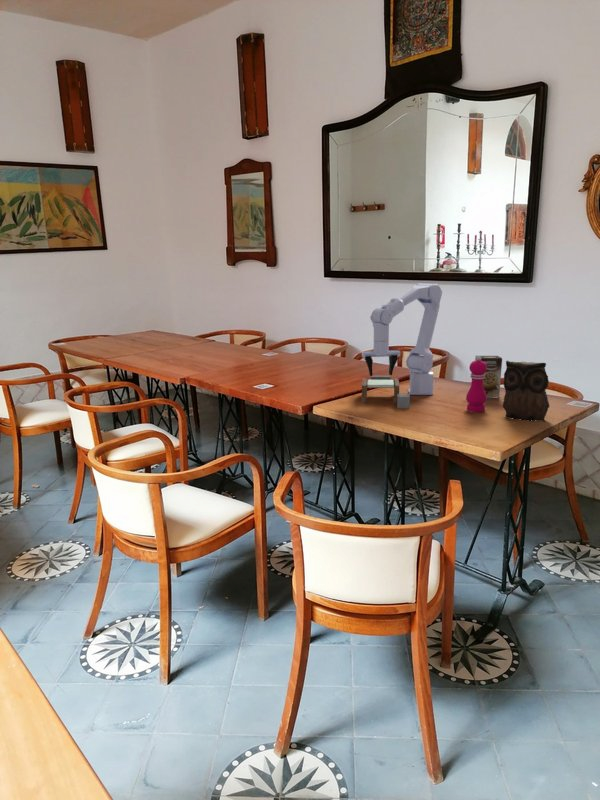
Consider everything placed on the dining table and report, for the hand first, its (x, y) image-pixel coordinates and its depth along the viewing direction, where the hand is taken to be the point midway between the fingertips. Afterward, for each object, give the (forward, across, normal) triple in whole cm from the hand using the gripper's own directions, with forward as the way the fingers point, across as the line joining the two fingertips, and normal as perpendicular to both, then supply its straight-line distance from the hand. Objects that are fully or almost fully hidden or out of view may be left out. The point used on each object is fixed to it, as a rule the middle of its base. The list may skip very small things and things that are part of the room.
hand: (380, 375), depth 222 cm
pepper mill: (+11, -31, +18) cm, 38 cm away
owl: (+11, -46, +28) cm, 55 cm away
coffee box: (+11, -42, 0) cm, 44 cm away
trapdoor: (+4, -1, -4) cm, 6 cm away
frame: (+10, -1, -3) cm, 11 cm away
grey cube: (+10, -7, +9) cm, 15 cm away
